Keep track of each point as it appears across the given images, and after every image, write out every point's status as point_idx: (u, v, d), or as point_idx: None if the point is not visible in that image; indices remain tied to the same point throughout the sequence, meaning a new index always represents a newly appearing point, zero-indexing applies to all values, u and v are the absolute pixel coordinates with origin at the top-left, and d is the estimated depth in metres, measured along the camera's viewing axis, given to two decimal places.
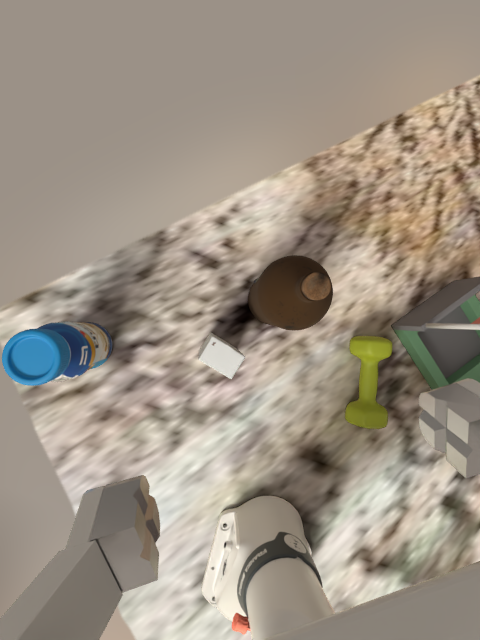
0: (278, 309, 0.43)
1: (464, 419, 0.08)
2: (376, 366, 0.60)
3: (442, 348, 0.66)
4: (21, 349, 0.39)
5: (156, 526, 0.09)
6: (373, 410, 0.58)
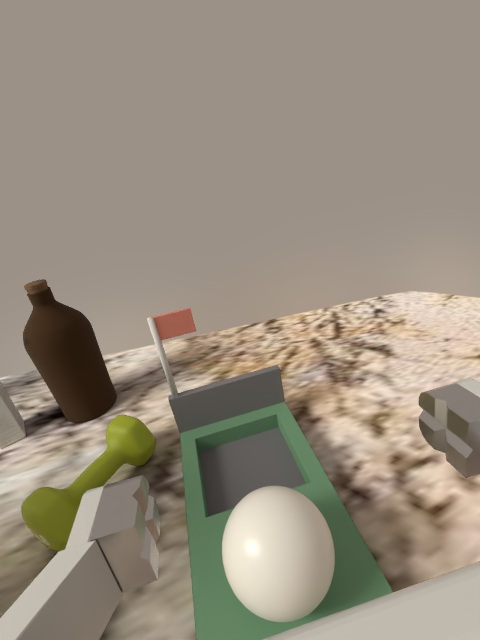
0: None
1: (464, 419, 0.08)
2: (113, 452, 0.44)
3: (236, 481, 0.42)
4: None
5: (156, 526, 0.09)
6: (52, 488, 0.38)
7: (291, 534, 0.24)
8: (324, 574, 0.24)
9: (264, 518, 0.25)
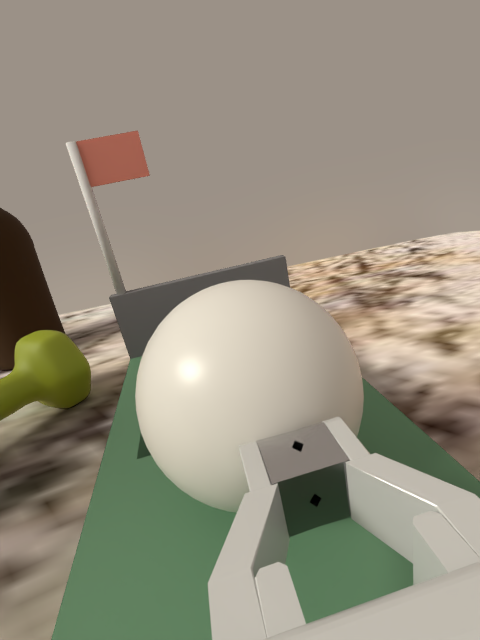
0: None
1: (309, 467, 0.08)
2: (16, 377, 0.27)
3: None
4: None
5: None
6: None
7: None
8: (308, 302, 0.12)
9: None
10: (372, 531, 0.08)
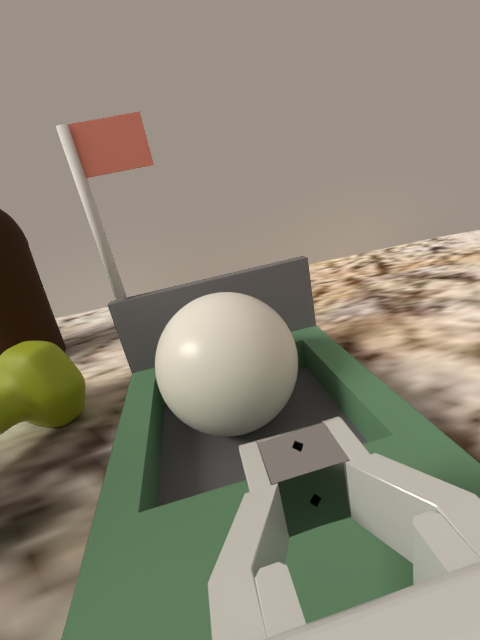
0: None
1: (309, 467, 0.08)
2: (0, 395, 0.24)
3: (225, 447, 0.21)
4: None
5: None
6: None
7: None
8: None
9: None
10: (372, 531, 0.08)
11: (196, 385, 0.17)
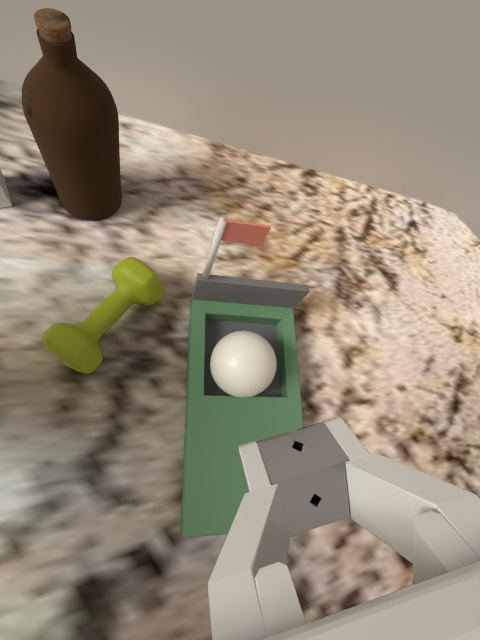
0: (27, 77, 0.37)
1: (309, 467, 0.08)
2: (126, 297, 0.45)
3: None
4: None
5: None
6: (74, 329, 0.40)
7: None
8: None
9: None
10: (372, 531, 0.08)
11: None
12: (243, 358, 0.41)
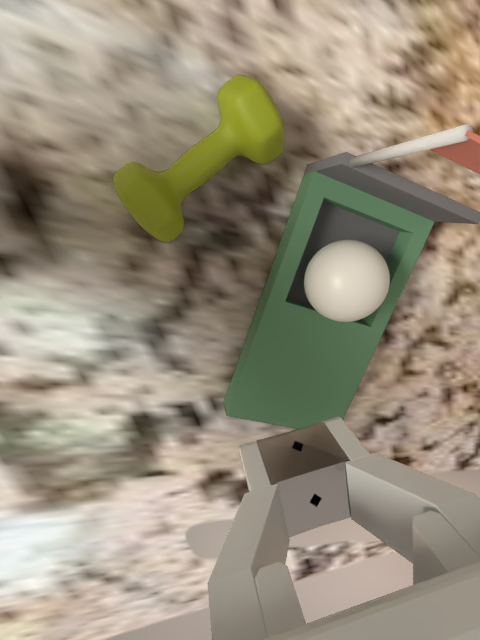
0: None
1: (309, 467, 0.08)
2: (230, 148, 0.31)
3: None
4: None
5: None
6: (158, 188, 0.29)
7: None
8: None
9: None
10: (372, 531, 0.08)
11: None
12: (355, 288, 0.32)
